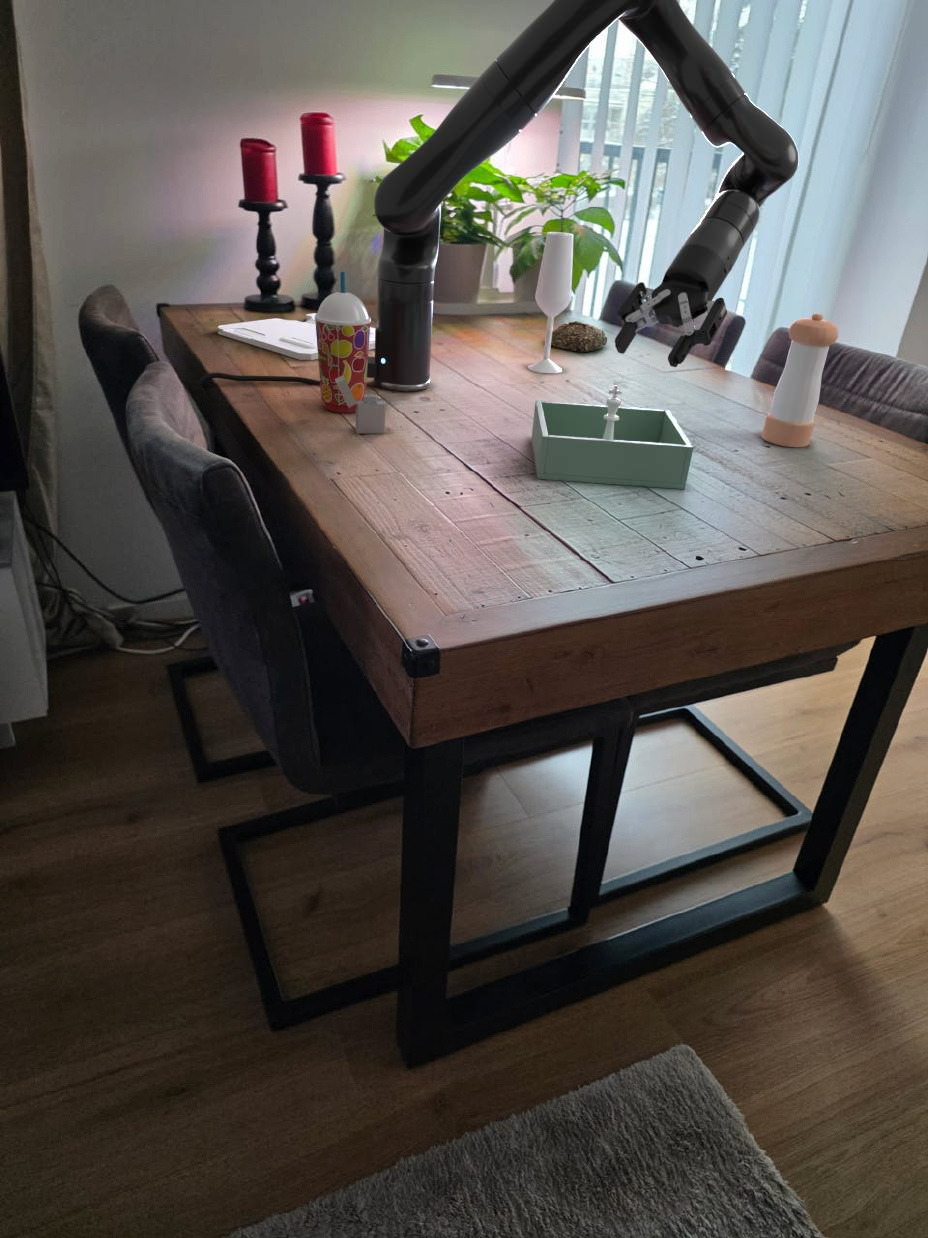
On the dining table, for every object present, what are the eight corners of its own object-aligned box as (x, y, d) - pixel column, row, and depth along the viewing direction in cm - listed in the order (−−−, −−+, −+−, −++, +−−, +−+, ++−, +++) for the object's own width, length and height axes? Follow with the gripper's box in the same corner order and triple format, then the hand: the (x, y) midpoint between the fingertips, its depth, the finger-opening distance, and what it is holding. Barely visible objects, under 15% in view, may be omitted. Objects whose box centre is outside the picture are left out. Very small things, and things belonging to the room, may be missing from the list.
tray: (213, 332, 172) (212, 324, 171) (318, 317, 191) (318, 310, 191) (304, 361, 157) (304, 352, 156) (409, 342, 176) (409, 334, 176)
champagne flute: (523, 369, 163) (536, 232, 151) (533, 362, 168) (547, 230, 156) (556, 375, 161) (573, 237, 149) (566, 367, 166) (583, 234, 154)
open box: (537, 478, 112) (542, 436, 110) (531, 438, 127) (535, 400, 124) (684, 489, 113) (693, 447, 110) (662, 448, 127) (669, 410, 124)
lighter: (383, 429, 126) (384, 374, 122) (385, 433, 125) (386, 378, 121) (335, 429, 124) (334, 374, 120) (336, 433, 123) (336, 378, 119)
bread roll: (613, 346, 187) (617, 322, 184) (589, 355, 177) (593, 330, 175) (561, 336, 192) (564, 313, 190) (535, 344, 183) (538, 320, 180)
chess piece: (622, 464, 117) (634, 392, 112) (586, 460, 118) (596, 387, 113) (623, 453, 121) (635, 383, 116) (588, 449, 122) (599, 378, 117)
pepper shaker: (785, 449, 131) (819, 319, 121) (751, 434, 136) (781, 309, 127) (818, 445, 134) (855, 318, 124) (784, 430, 139) (816, 308, 130)
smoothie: (318, 399, 137) (315, 266, 127) (370, 401, 138) (371, 269, 128) (314, 414, 130) (311, 274, 120) (369, 416, 131) (371, 278, 121)
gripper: (653, 235, 120) (593, 328, 118) (746, 249, 111) (683, 349, 110) (666, 273, 126) (609, 362, 124) (755, 289, 118) (696, 384, 116)
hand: (644, 356), depth 117 cm, fingers open, 8 cm apart
